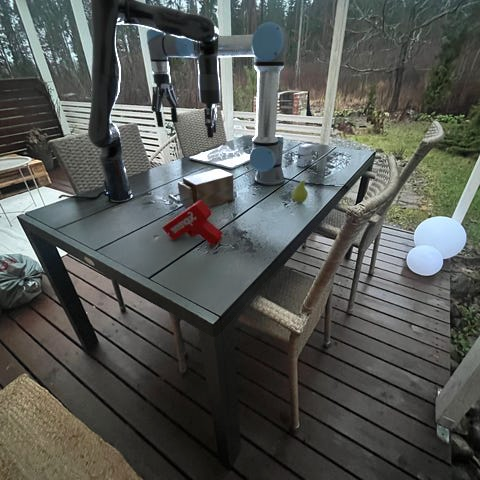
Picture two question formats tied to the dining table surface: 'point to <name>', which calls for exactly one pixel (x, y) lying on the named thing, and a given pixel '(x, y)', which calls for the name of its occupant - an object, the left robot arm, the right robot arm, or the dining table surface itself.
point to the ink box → (304, 154)
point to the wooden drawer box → (212, 187)
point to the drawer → (185, 194)
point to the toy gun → (194, 224)
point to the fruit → (300, 192)
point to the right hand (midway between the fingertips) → (168, 124)
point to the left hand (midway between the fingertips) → (212, 135)
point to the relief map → (223, 157)
